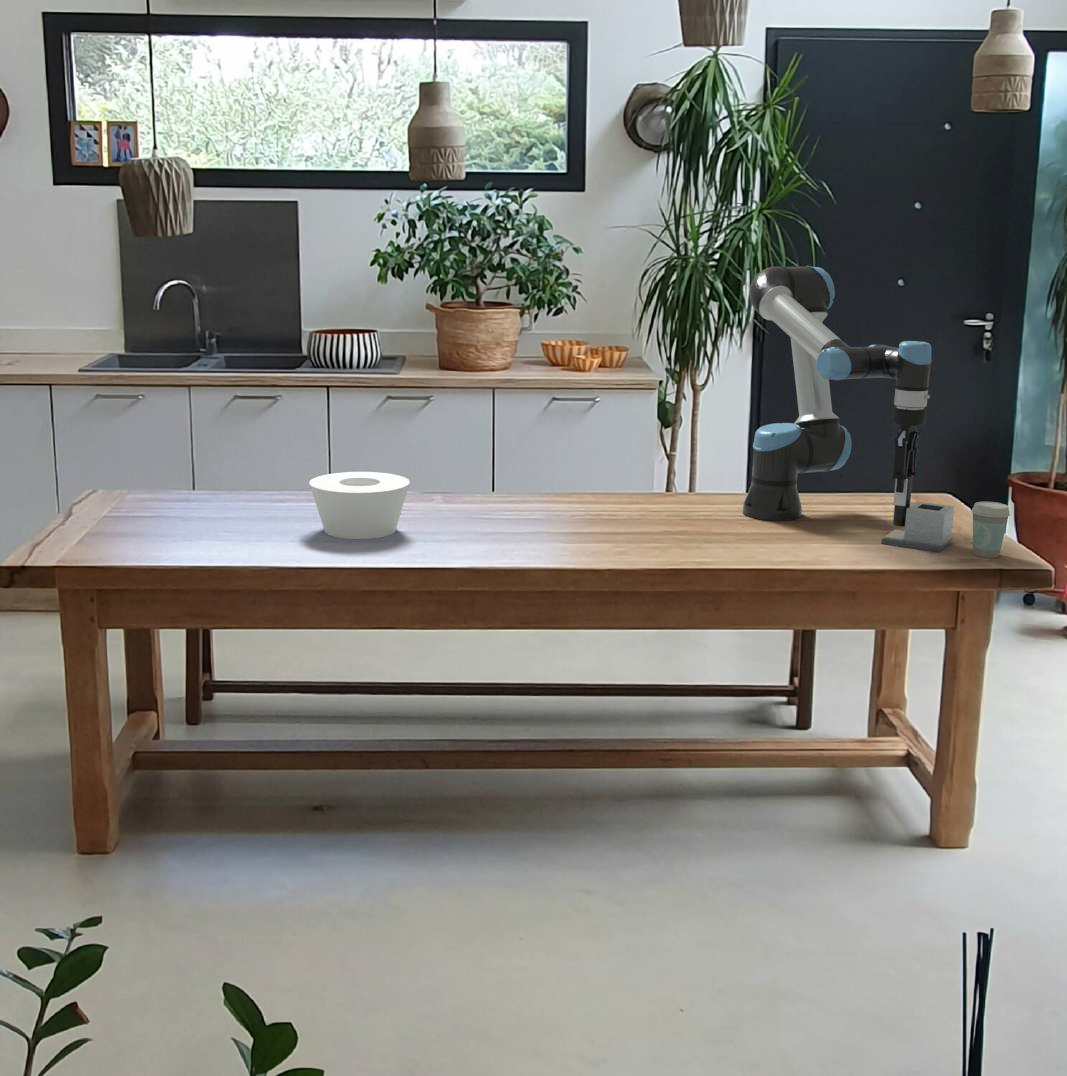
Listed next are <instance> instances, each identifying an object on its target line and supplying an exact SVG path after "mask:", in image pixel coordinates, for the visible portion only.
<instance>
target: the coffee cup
mask: <svg viewBox="0 0 1067 1076" xmlns="http://www.w3.org/2000/svg"><path fill="white" fill-rule="evenodd" d="M971 509H972V510H971V511H970V512H971V514H972V554H973V556H977V557H979V558H986V559H987V558H988V559H995V558H998V557H999V556H1000V554H1001V550H1002V547H1003V546H1002V545H1003V540H1004V536H1005V534H1006V533H1005V532H1006V528H1007V527H1006V526H1007V524H1008V519H1009V516H1011V514H1010V509H1009V506H1008V505H1007V504H1004V503H1002V502H996V501H995V502H994V501H978V502H975V503H974V505H973V507H972V508H971Z"/></svg>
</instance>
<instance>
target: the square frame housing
mask: <svg viewBox="0 0 1067 1076" xmlns="http://www.w3.org/2000/svg"><path fill="white" fill-rule="evenodd" d="M954 513H955V506H954V505H953V506H952V505H945V504H938V503H929V502H922V501H916V502H914V503H913V504H910V507H908V508H907V510H906V521H905V527H904V530H903V529H902V530H901V529H894V530H892V531H891V532H889V533H888V534H887V535H885V536H884V537H882V538H881V544H883V545H889V546H895V547H902V548H908V549H916V550H921V551H922V550H923V551H930V552H935V553H941V552H942V551H944V550H945V549H946V548H947V547H948V546H950V544H952V541H953V537H952V535H953V533H952V532H953V523H954Z"/></svg>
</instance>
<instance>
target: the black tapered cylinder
mask: <svg viewBox="0 0 1067 1076" xmlns="http://www.w3.org/2000/svg"><path fill="white" fill-rule="evenodd" d="M912 476H913V475H911V476H909V475H907V478H906V479H908V483H907V494H906V506H900V505H894V507H893V508H894V509H893V519H892V520H893V521H892V525H893V526H895V527H904V528H905V521H906V510H907V508H908V507H910V506H911V498H912V489H913V478H914V476H913V477H912Z"/></svg>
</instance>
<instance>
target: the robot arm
mask: <svg viewBox="0 0 1067 1076" xmlns="http://www.w3.org/2000/svg"><path fill="white" fill-rule="evenodd" d="M748 292H749V293H748V296H749V300H750V304H751V305H752V307H753V309H754V311H756V312H757V313H758V315H759V316H760V317H762V319H765V320H767V321H772V322H773V323H775V324H776V325H777V326H778V327H779V328H780V329H781V330H782V331H783V332H784V333H785V334H786V335H787V336H789V337H790V344H791V353H792V354H791V355H792V361H793V371H794V380H795V381H794V382H795V388H796V397H797V398H796V399H797V408H798V417H797V419H796V420H795V421H794V423H793V422H782V423H781V422H777V423H770V424H765V425H762V426H760V427H759V428H757V429H756V431H755V432H754V433H755V434H754V439H753V444H752V448H753V452H752V469H751V484H750V486H749V489H748V492H747V493H746V497H745V499H744V502H743V505H742V513H743V514H744V515H745V516H747V517H750V518H753V519H758V520H767V521H792V520H797V519H800V518H801V517H802V513H803V512H802V511H803V507H802V502H801V499H800V496H799V495H800V494H799V491H798V474H805V473H818V472H819V473H820V472H823V473H826V472H829V471H836V470H839V469H840V468H842V467H843V466H844V465H846V463H847V460H849V457H850V455H851V451H852V438H851V434H850V432H849V431H848V429H847V428H846V427H845V426H843V425H840V417H839V416H837V414H835V413H834V412H833V406H832V398H831V397H832V396H831V387H830V380H833V381H843V380H853V379H854V380H856V379H857V380H858V379H875V378H877V379H878V378H883V379H884V378H885V379H886V378H887V379H893V380H895V381H896V383H895V390H894V399H893V405H894V406H895V407H894V408H893V414H892V415H893V416H892V422H893V423H894V424H896V425H899V426H900V428H899V431H897V436H895V438H894V460H893V474H892V475H891V478H892V479H895V482H894V483H895V484H894V494H893V495H894V496H893V505H894V506H895V505H900V506H906V494H907V483H908V479H906V478H907V475H909V476H912V477H913V478H914V477H915V476H917V471H916V470H917V461H918V459H917V458H918V452H919V451H918V450H919V442H920V435H921V430H920V431H919V430H918V427H919V426H924V425H925V424H926V419H927V410H926V407H927V406H928V405H927V404H928V399H930V398H931V395H930V394H928V393H929V383H930V376H931V375H930V374H931V366H932V345H931V344H930V343H929V342H926V341H917V340H905V341H901V342H900V343H899V345H898V347H895V346H888V345H886V344H871V345H869V346H854V347H853V346H850V345H848V344H847V343H846V342H845V341H843V340H842V339H840V337H839V336H837V334H835V332H833V331H831V329H829V328H828V327H827V326H826V325H825V324H824V323H823V321H824V320H825V319H826V318H827V316H828V310H829V309H830V308H831V307H832V305H833V304H834V299H835V295H836V294H835V293H836V291H835V285H834V281H833V279H832V277H831V275H830V274H829V273H828V272H827V271H826V270H825V269H824V268H822V267H817V266H811V265H810V266H809V265H805V266H804V265H801V266H798V265H797V266H769V267H767V268H764V269H763V270H761V271H760V272H758V273H757V274H756V275H755V277H754V278H753V279H752V281H751V283H750V286H749V291H748Z"/></svg>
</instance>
